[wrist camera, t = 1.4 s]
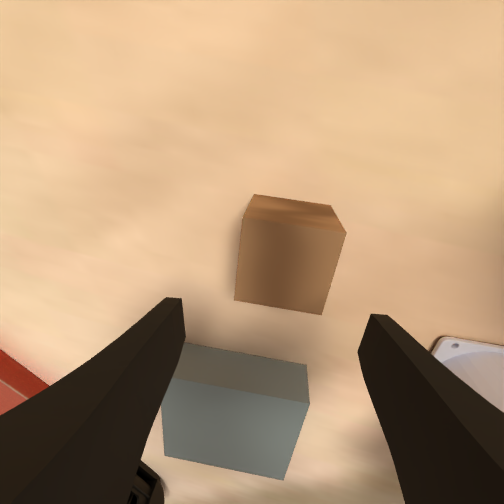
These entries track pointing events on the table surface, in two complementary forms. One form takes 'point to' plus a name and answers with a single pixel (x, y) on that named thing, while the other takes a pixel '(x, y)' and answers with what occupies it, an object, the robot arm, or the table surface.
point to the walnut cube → (288, 254)
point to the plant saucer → (16, 383)
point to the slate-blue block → (234, 410)
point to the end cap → (146, 487)
